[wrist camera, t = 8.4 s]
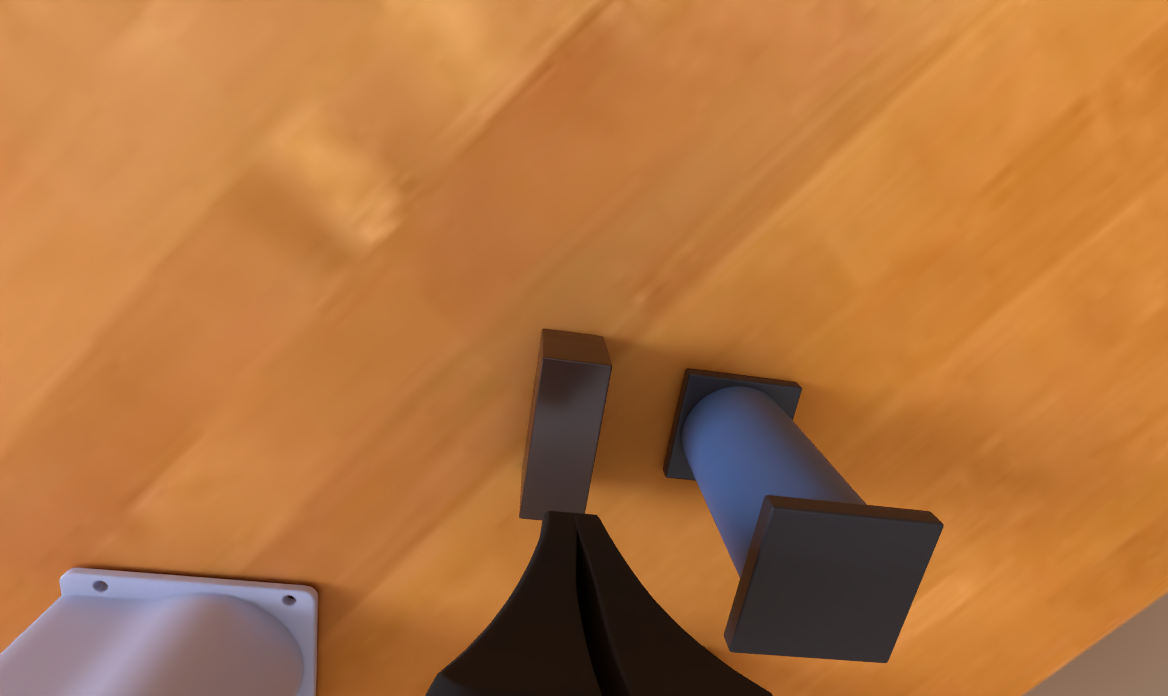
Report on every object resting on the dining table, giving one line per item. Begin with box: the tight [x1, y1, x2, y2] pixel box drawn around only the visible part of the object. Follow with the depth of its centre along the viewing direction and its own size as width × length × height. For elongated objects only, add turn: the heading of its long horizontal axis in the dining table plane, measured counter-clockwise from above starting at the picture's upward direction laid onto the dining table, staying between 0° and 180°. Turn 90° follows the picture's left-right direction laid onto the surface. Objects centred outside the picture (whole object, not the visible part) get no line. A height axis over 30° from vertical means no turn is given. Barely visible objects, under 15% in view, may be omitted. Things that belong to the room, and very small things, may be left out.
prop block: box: [519, 329, 612, 520], centre depth 21 cm, size 2×6×3 cm, turn 171°
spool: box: [663, 369, 943, 663], centre depth 19 cm, size 10×4×9 cm
